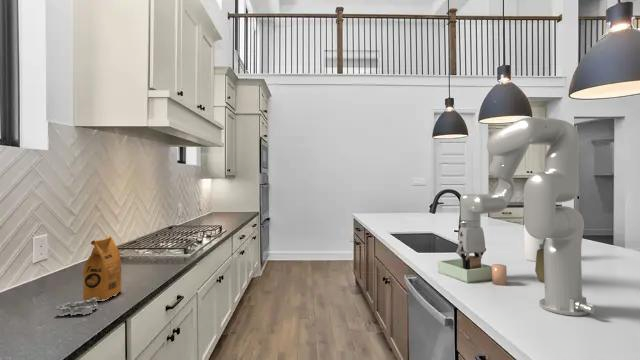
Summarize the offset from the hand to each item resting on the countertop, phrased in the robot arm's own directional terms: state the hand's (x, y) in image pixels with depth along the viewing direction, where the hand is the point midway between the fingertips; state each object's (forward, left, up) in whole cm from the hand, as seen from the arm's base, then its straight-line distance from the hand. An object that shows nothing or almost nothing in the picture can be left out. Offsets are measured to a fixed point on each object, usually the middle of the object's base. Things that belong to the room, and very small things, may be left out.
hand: (471, 268), depth 141 cm
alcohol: (+12, -50, -4) cm, 52 cm away
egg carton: (+19, +144, -5) cm, 145 cm away
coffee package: (+34, +140, -4) cm, 144 cm away
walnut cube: (0, 0, 0) cm, 0 cm away
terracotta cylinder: (-10, -4, -4) cm, 12 cm away
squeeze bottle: (-15, -23, -4) cm, 28 cm away
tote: (+4, 0, -4) cm, 6 cm away
